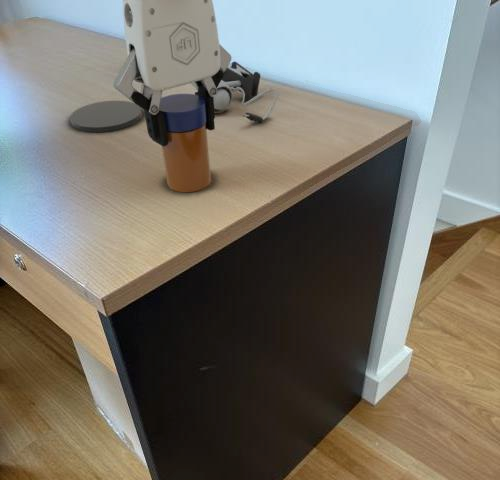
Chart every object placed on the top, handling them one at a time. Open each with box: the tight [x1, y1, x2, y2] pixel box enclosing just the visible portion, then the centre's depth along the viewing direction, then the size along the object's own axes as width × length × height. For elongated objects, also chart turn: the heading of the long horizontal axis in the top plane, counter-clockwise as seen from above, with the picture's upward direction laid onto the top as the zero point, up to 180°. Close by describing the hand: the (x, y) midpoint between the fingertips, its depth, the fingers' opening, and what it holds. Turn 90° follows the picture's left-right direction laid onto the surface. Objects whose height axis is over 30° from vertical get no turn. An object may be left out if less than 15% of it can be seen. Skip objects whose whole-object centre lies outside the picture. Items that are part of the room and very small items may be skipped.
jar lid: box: [159, 93, 207, 132], centre depth 63 cm, size 6×6×2 cm
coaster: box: [69, 100, 143, 133], centre depth 87 cm, size 12×12×1 cm
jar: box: [161, 123, 212, 193], centre depth 66 cm, size 6×6×10 cm
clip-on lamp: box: [190, 61, 278, 124], centre depth 87 cm, size 12×6×18 cm
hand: (183, 133), depth 65 cm, fingers closed on jar lid, 6 cm apart
